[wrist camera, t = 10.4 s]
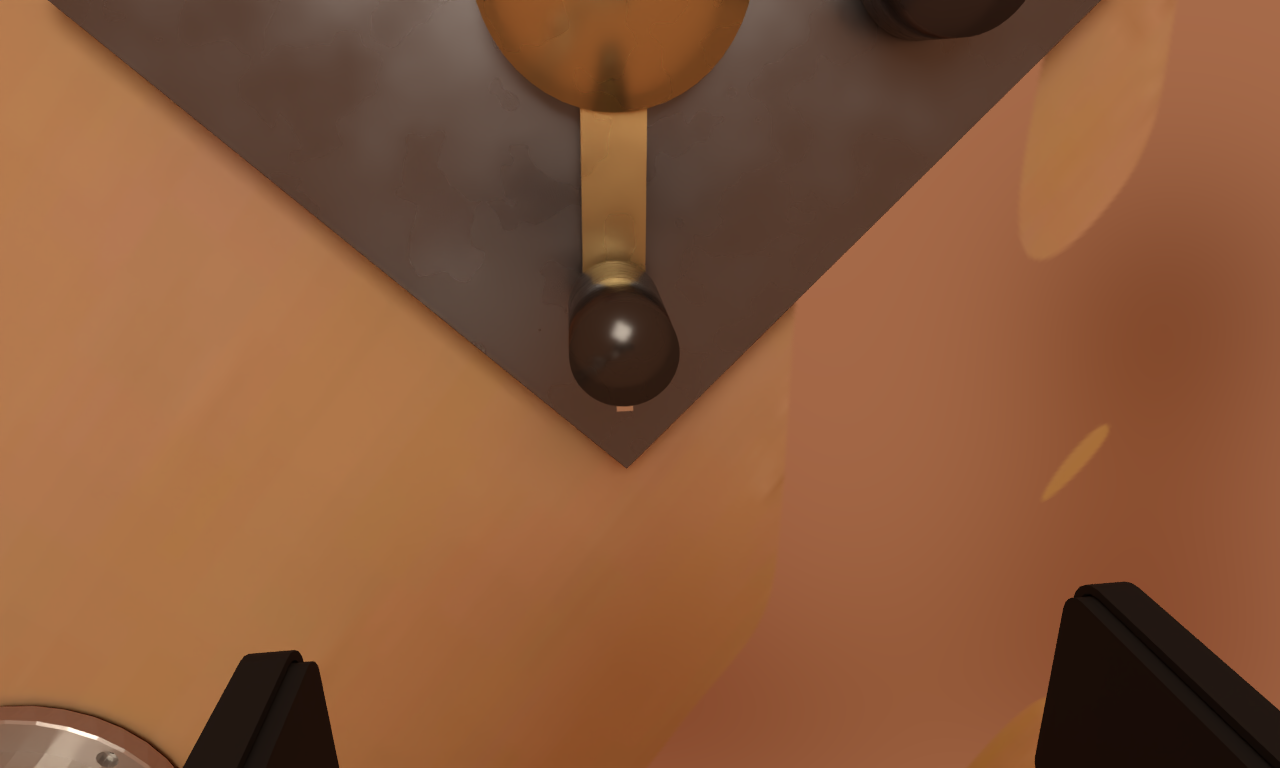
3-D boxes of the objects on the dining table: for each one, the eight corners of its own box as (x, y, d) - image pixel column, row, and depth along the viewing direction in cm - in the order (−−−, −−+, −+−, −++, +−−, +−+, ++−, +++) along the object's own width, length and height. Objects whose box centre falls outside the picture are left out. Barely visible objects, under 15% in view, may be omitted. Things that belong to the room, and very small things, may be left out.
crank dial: (466, -194, 23) (429, -290, 17) (748, -184, 23) (814, -274, 17) (496, 336, 28) (478, 410, 22) (723, 332, 29) (766, 402, 23)
